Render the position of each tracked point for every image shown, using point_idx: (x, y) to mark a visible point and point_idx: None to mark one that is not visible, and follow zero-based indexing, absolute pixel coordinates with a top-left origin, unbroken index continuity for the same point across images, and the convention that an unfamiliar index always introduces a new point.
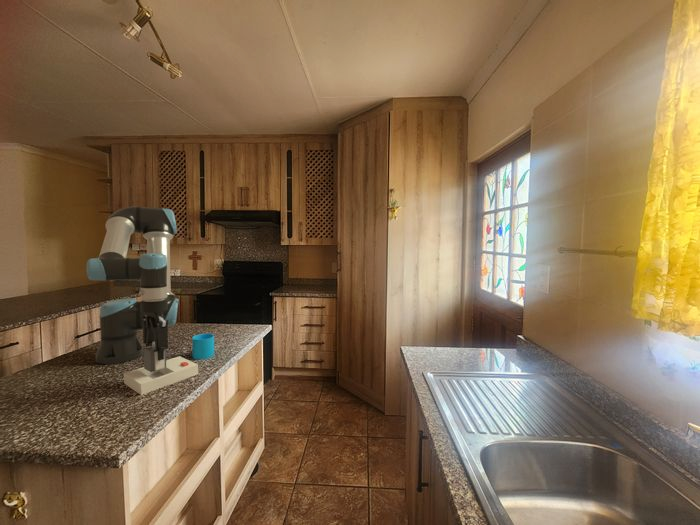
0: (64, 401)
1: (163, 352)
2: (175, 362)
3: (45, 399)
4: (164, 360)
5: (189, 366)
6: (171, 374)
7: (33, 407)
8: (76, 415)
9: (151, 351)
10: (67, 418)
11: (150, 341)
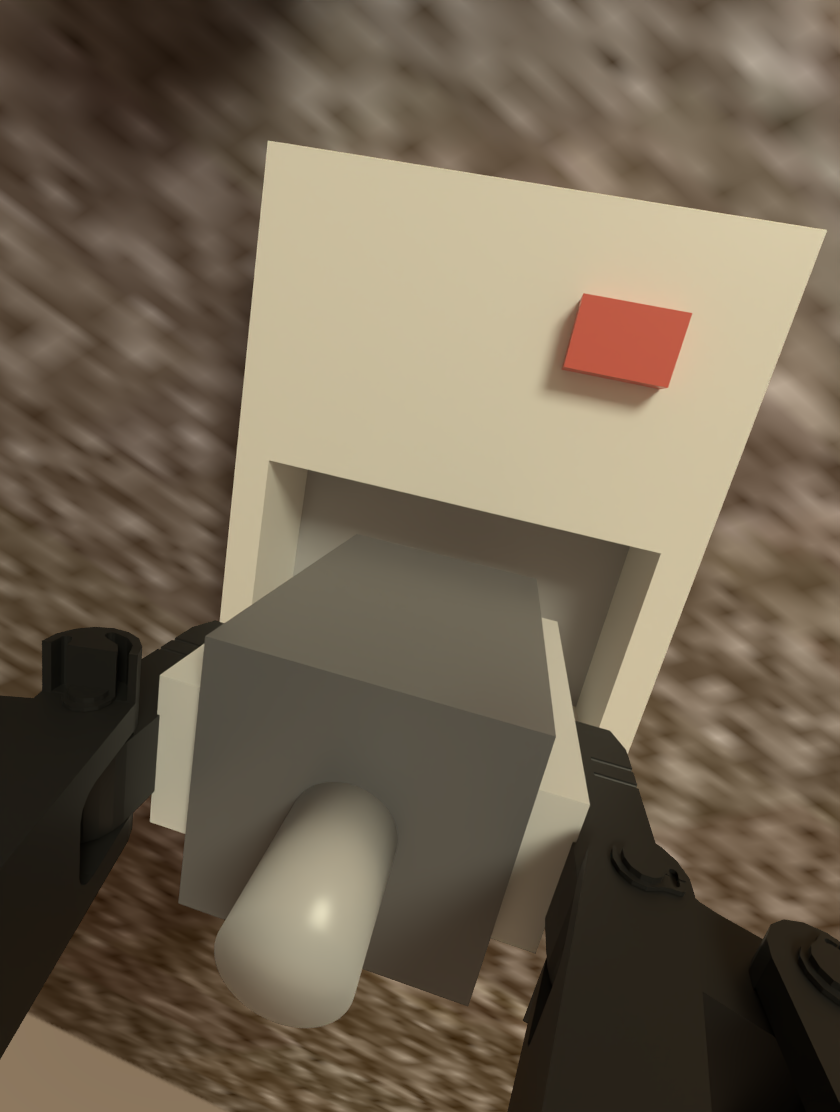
0: (200, 941)
1: (649, 838)
2: (420, 340)
3: (93, 944)
4: (565, 668)
5: (739, 350)
6: (680, 610)
7: (143, 1003)
8: (430, 1027)
9: (470, 980)
10: (419, 1051)
11: (79, 879)
